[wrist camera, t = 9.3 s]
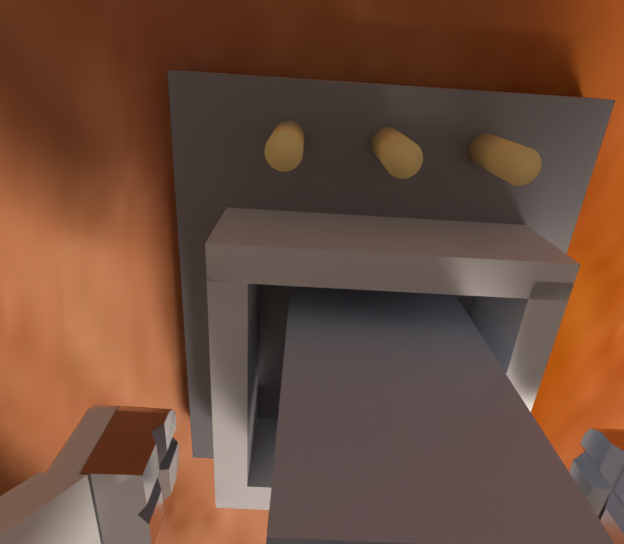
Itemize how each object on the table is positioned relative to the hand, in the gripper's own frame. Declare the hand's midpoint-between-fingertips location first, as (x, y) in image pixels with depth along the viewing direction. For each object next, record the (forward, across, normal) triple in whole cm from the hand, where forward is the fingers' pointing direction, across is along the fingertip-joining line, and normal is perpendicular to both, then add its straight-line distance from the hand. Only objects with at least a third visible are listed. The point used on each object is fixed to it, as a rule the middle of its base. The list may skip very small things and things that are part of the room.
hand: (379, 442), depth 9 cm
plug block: (+4, 0, 0) cm, 4 cm away
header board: (+5, 0, -1) cm, 5 cm away
